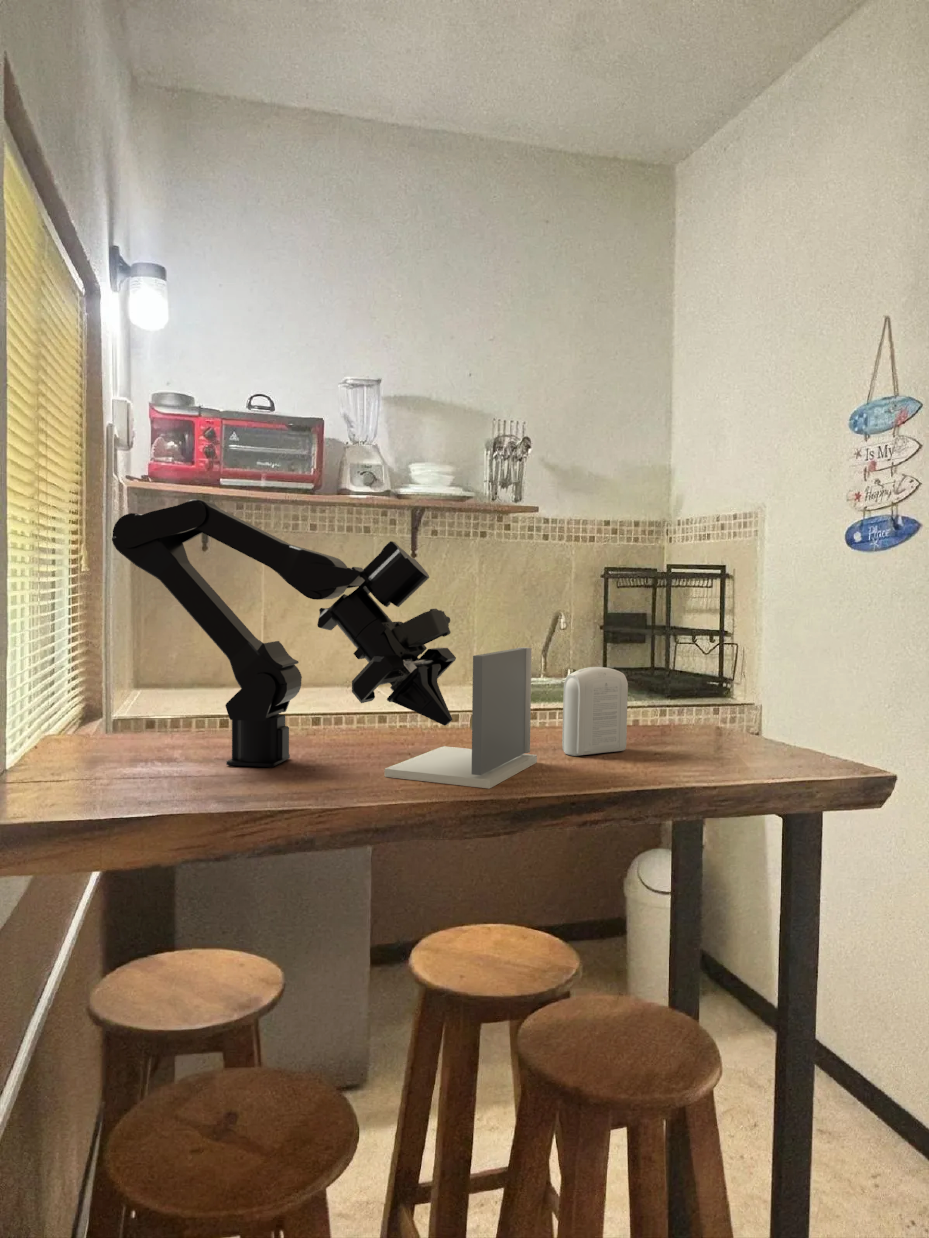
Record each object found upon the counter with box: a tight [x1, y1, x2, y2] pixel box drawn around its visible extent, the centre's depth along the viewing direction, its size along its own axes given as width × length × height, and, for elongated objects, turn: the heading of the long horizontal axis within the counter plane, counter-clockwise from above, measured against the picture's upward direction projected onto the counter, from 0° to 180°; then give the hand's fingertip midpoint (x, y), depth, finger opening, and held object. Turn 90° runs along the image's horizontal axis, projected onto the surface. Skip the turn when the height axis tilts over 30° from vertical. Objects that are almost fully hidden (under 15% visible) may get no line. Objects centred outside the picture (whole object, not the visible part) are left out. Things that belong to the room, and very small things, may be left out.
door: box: [469, 647, 532, 775], centre depth 108 cm, size 3×17×14 cm, turn 156°
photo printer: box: [561, 666, 629, 757], centre depth 123 cm, size 10×4×12 cm, turn 123°
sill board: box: [384, 745, 538, 789], centre depth 110 cm, size 14×17×1 cm
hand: (448, 722), depth 106 cm, fingers closed
